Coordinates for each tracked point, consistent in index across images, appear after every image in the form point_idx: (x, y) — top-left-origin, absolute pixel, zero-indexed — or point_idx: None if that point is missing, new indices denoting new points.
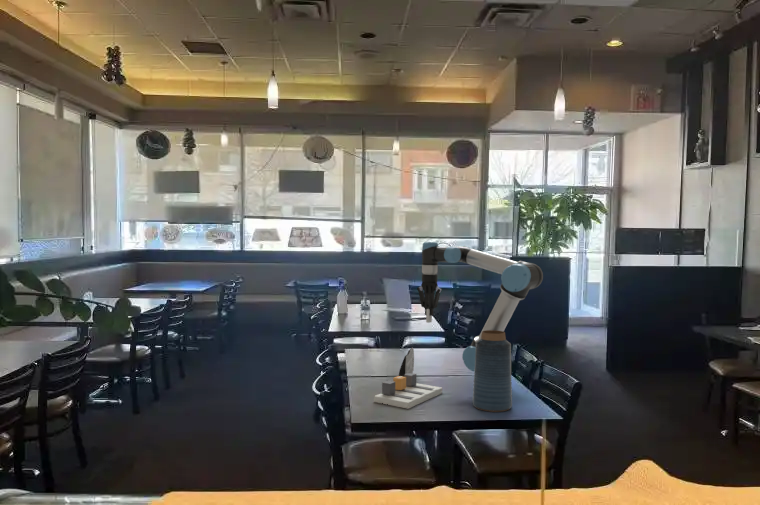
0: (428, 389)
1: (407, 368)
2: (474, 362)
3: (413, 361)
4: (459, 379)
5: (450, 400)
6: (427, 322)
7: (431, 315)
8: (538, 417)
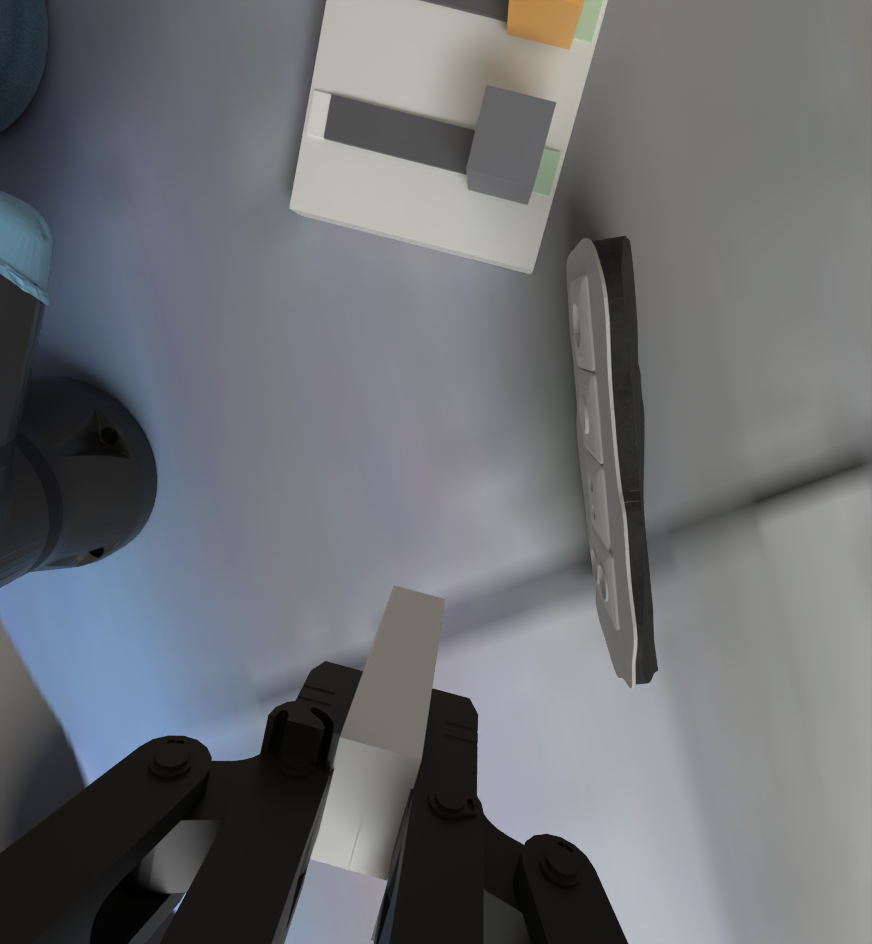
0: (356, 101)
1: (576, 296)
2: None
3: (609, 635)
4: (296, 582)
5: (205, 57)
6: (421, 594)
7: (322, 663)
8: None
